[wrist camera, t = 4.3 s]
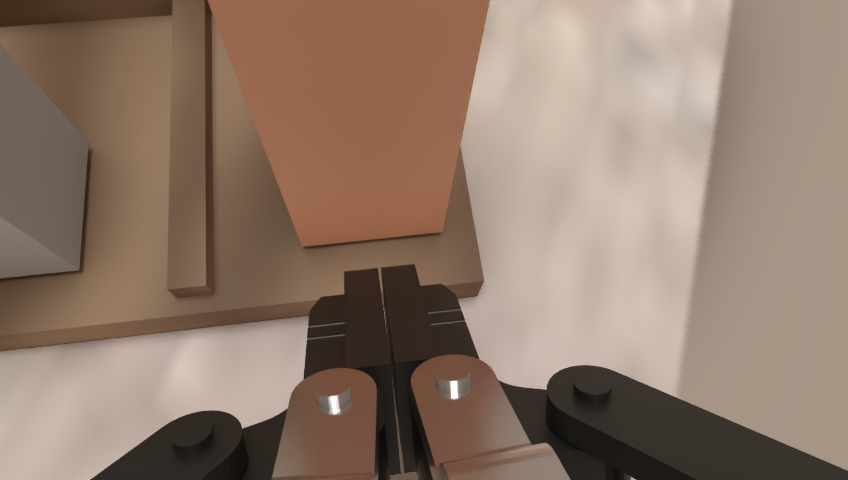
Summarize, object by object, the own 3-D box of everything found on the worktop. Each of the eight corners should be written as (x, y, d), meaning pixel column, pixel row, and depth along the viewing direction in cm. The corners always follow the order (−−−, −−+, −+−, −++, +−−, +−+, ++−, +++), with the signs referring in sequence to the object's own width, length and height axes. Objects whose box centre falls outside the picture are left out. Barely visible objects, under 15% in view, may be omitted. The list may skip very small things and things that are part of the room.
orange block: (301, 246, 17) (196, -28, 8) (293, 124, 19) (197, -229, 9) (442, 231, 18) (499, -47, 8) (424, 113, 19) (454, -239, 10)
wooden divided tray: (-477, 405, 16) (-732, 383, 13) (-347, 67, 20) (-513, -26, 17) (477, 295, 19) (498, 250, 15) (428, 12, 23) (436, -80, 19)
